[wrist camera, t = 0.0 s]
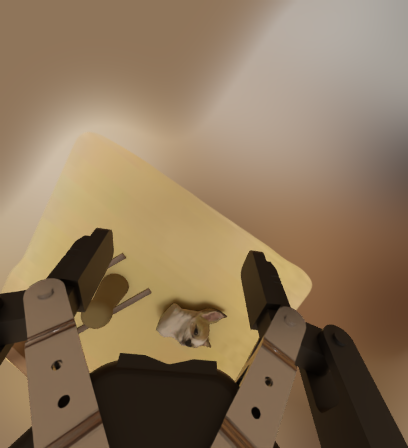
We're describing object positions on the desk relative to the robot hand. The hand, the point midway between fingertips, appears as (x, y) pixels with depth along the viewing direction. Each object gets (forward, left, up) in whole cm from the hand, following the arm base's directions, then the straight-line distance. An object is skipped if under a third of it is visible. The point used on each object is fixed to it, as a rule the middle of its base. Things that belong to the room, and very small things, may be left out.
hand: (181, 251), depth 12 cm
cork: (-10, +24, -32) cm, 41 cm away
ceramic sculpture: (-25, +14, -32) cm, 43 cm away
